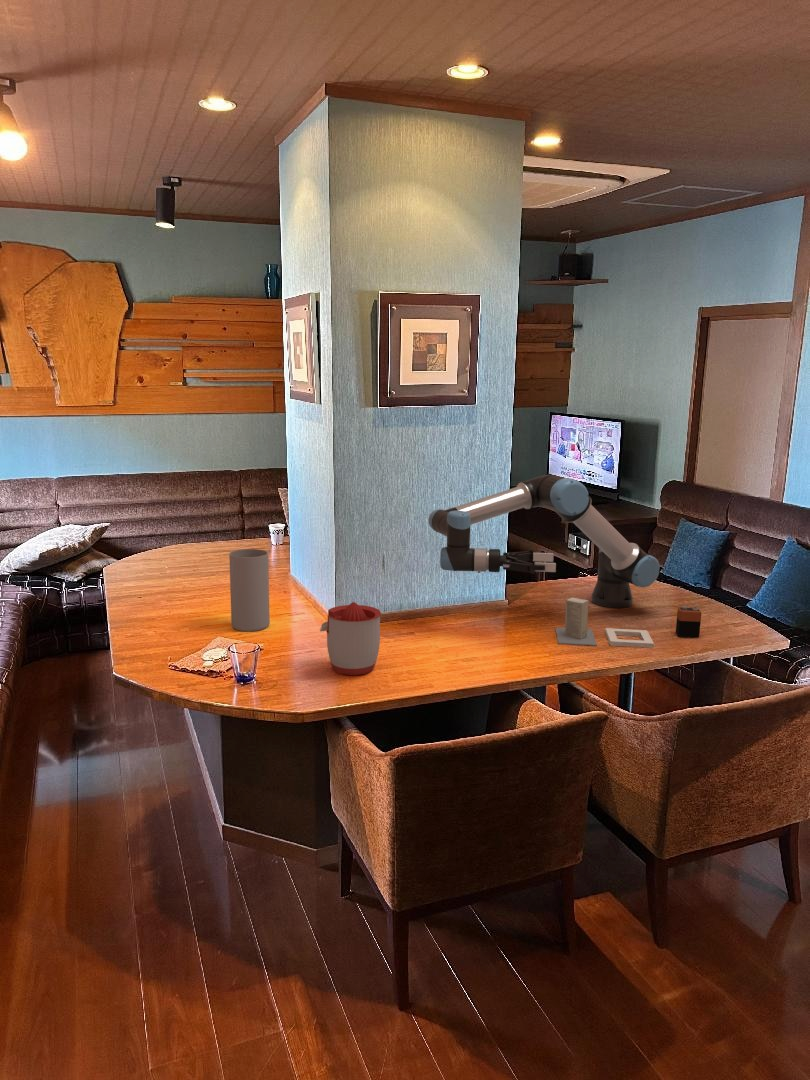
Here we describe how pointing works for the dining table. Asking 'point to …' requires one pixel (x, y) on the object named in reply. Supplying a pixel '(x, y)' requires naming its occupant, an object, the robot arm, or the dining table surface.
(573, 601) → the skincare box
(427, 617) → the dining table surface
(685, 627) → the battery
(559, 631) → the grey mat
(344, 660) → the citrus juicer
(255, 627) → the cylinder vase
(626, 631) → the white square frame
